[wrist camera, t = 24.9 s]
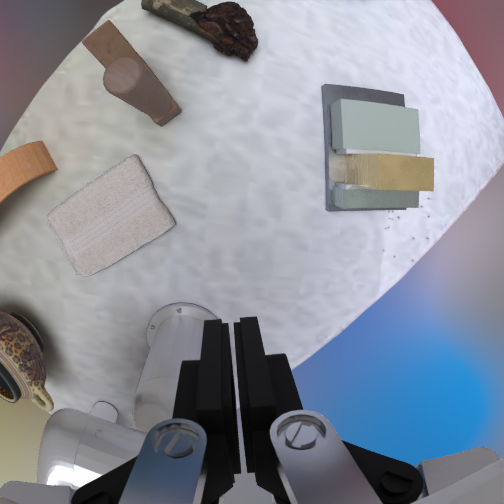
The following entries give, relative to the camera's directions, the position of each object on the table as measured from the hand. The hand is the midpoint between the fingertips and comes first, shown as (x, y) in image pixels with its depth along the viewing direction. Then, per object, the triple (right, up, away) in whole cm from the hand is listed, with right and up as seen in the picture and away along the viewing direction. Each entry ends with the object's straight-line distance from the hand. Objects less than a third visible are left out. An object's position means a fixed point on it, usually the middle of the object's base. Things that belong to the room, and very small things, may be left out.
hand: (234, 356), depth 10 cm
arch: (-38, +13, +28) cm, 49 cm away
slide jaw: (+17, +20, +28) cm, 39 cm away
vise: (+17, +18, +31) cm, 40 cm away
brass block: (+17, +15, +30) cm, 38 cm away
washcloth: (-20, +8, +31) cm, 38 cm away
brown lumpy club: (-11, +39, +25) cm, 48 cm away
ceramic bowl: (-43, -12, +35) cm, 56 cm away
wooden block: (-13, +25, +26) cm, 39 cm away
